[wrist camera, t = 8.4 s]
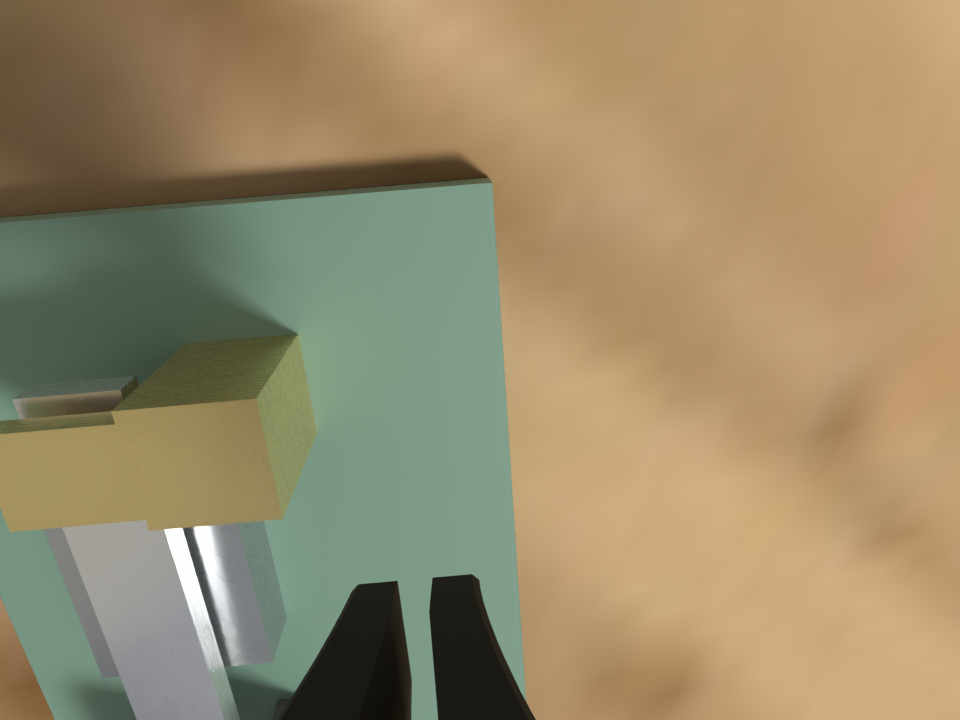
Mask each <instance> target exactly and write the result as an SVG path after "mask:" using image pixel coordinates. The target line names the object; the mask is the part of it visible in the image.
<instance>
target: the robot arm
mask: <svg viewBox="0 0 960 720" xmlns="http://www.w3.org/2000/svg"><path fill="white" fill-rule="evenodd" d="M429 615H430V628H431V640H432V652H433V664H434V676H435V688H436V699H437V711H438V720H535V718H534V716H533V714H532V712H531V711H530V709H529V707H528V705H527V703H526V701H525V699H524V697H523V695H522V693H521V691H520V689H519V687H518V685H517V683H516V681H515V679H514V676H513V674H512V672H511V670H510V668H509V666H508V664H507V662H506V660H505V657H504V655H503V653H502V651H501V648H500V646H499V644H498V641H497V639H496V636H495V633H494V631H493V628H492V626H491V623H490V620H489V617H488V614H487V611H486V608H485V605H484V601H483V597H482V593H481V588H480V580H479V579H478V578H476V577H475V576H474V575H473V574H467V575H456V576H445V577H434V578H432V587H431V597H430V609H429ZM411 710H412V677H411V670H410V663H409V656H408V649H407V642H406V635H405V629H404V622H403V615H402V608H401V601H400V594H399V587H398V581H389V582H378V583H367V584H358V585H357V586H356V587H355V588H354V589H353V590H352V592H351V594H350V596H349V598H348V600H347V602H346V604H345V606H344V608H343V610H342V612H341V614H340V616H339V618H338V619H337V621H336V623H335V625H334V627H333V629H332V631H331V632H330V634H329V636H328V638H327V639H326V641H325V643H324V645H323V646H322V648H321V650H320V652H319V653H318V655H317V657H316V659H315V660H314V662H313V664H312V665H311V667H310V668H309V670H308V672H307V673H306V675H305V677H304V678H303V680H302V681H301V683H300V685H299V686H298V688H297V690H296V691H295V693H294V694H293V696H292V698H291V699H290V701H289V702H288V704H287V706H286V707H285V709H284V710H283V712H282V713H281V715H280V716H279V718H278V719H277V720H411Z"/></svg>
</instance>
